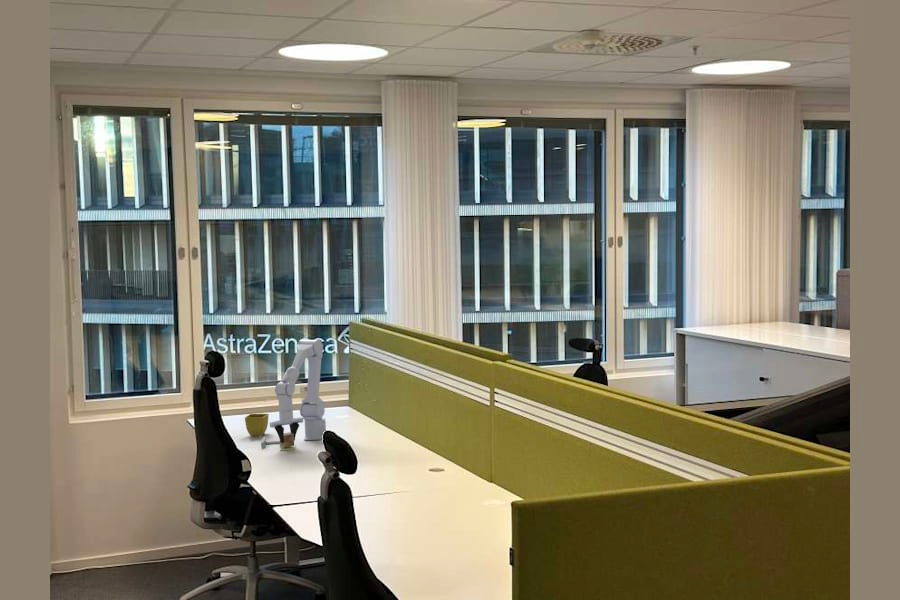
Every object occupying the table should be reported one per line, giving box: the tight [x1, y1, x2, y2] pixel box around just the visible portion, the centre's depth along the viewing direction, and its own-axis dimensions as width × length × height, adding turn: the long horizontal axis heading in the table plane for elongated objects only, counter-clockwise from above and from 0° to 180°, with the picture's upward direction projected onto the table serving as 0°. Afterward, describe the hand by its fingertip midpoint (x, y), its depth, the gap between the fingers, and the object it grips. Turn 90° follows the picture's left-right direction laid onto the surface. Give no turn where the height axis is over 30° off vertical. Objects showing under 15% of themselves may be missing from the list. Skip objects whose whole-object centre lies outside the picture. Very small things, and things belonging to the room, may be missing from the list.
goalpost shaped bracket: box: [260, 436, 281, 449], centre depth 399 cm, size 9×10×2 cm
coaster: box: [279, 445, 297, 451], centre depth 392 cm, size 6×6×1 cm
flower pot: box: [244, 413, 269, 437], centre depth 420 cm, size 9×9×9 cm
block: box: [279, 431, 295, 447], centre depth 392 cm, size 4×4×5 cm
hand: (287, 441), depth 391 cm, fingers closed on block, 4 cm apart
